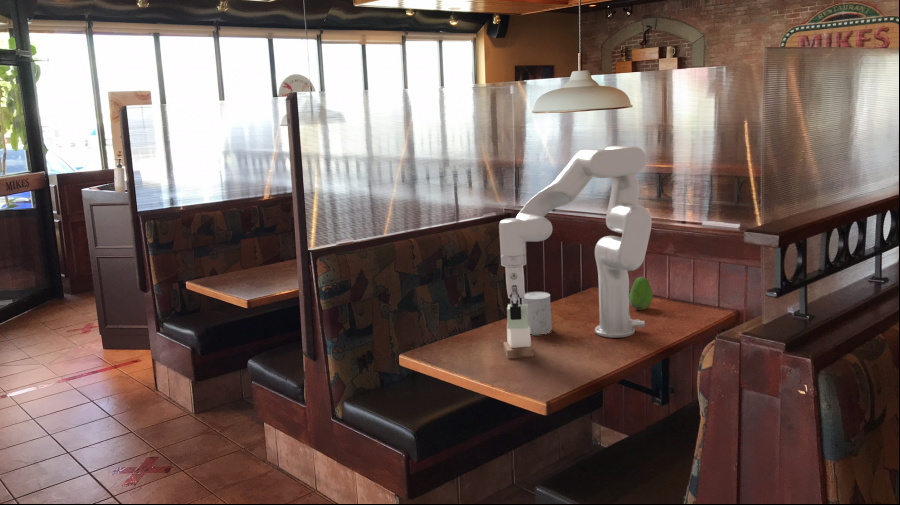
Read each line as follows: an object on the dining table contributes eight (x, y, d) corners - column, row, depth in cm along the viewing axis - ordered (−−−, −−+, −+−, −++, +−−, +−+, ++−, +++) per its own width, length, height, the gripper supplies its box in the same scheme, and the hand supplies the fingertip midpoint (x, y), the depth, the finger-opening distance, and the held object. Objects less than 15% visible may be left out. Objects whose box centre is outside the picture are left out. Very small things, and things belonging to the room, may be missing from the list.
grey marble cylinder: (555, 327, 245) (553, 292, 243) (546, 336, 237) (545, 299, 234) (528, 325, 249) (526, 290, 247) (519, 334, 241) (517, 298, 238)
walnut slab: (529, 349, 227) (528, 340, 227) (533, 357, 219) (533, 348, 219) (503, 351, 227) (503, 342, 226) (507, 360, 219) (507, 350, 218)
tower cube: (526, 340, 227) (525, 321, 225) (530, 346, 221) (530, 327, 220) (507, 341, 226) (506, 323, 225) (511, 347, 220) (510, 328, 219)
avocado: (648, 313, 254) (648, 280, 251) (626, 311, 258) (626, 278, 255) (655, 307, 260) (655, 274, 258) (634, 305, 264) (633, 273, 262)
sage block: (527, 322, 224) (527, 304, 223) (527, 328, 218) (527, 309, 217) (508, 322, 225) (508, 304, 224) (507, 328, 219) (507, 309, 218)
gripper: (525, 265, 209) (528, 322, 212) (526, 253, 226) (528, 306, 229) (499, 266, 210) (502, 323, 213) (502, 254, 226) (505, 307, 230)
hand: (516, 314), depth 221 cm, fingers open, 9 cm apart
